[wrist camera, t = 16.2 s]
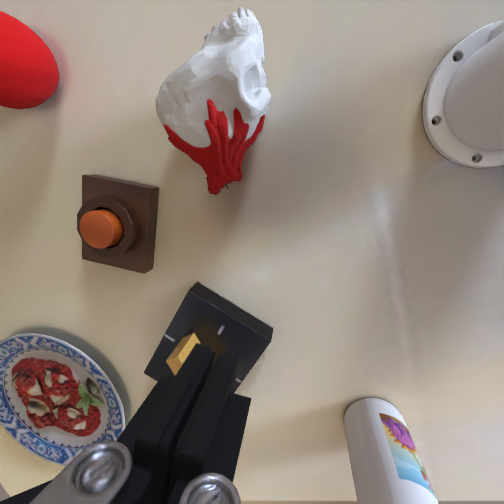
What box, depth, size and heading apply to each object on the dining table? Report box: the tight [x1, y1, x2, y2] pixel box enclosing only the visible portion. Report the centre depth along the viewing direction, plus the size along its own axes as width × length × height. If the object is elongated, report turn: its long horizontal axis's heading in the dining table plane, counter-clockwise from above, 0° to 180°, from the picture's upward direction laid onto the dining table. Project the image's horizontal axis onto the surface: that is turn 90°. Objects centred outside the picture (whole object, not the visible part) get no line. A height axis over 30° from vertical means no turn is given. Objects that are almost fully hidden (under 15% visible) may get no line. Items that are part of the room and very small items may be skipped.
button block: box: [77, 175, 159, 273], centre depth 35 cm, size 11×9×4 cm
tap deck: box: [144, 282, 273, 393], centre depth 38 cm, size 15×12×3 cm
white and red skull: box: [156, 7, 271, 195], centre depth 28 cm, size 9×11×15 cm
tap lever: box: [166, 333, 201, 375], centre depth 34 cm, size 8×2×5 cm, turn 29°
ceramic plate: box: [0, 333, 125, 466], centre depth 46 cm, size 26×26×3 cm
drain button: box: [80, 209, 123, 249], centre depth 33 cm, size 4×4×2 cm
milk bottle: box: [344, 398, 438, 504], centre depth 29 cm, size 8×8×20 cm
